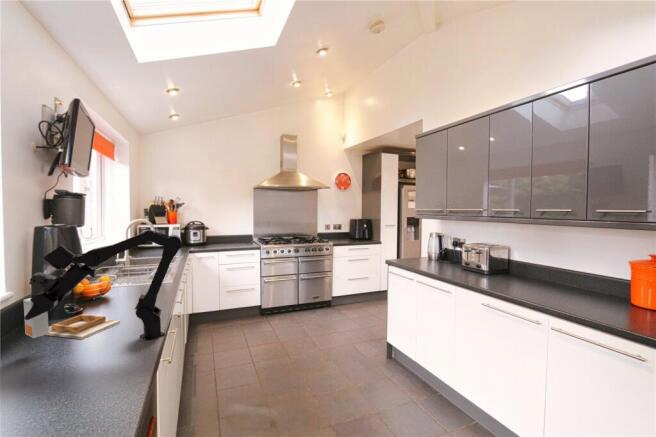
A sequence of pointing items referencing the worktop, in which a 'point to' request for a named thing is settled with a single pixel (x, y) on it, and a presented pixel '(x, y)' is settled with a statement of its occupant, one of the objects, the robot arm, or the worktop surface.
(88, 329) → the socket stand
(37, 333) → the skincare box
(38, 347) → the worktop surface
